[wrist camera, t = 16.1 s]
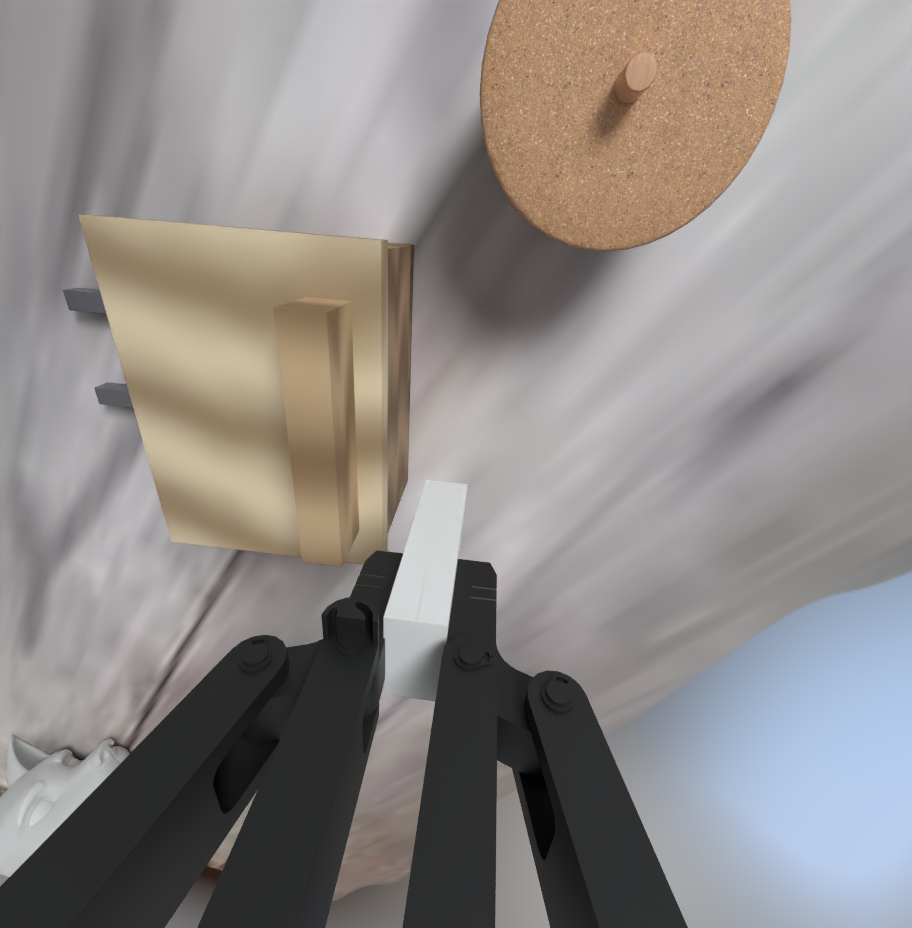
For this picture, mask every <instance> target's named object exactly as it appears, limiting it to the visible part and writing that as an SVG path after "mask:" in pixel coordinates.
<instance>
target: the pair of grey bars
mask: <svg viewBox="0 0 912 928" xmlns="http://www.w3.org/2000/svg"><path fill="white" fill-rule="evenodd" d="M63 292H64V295H65V298H66V301H67V305H68V308H69V310H75V311H85V312H96V313H106V310H105V306H104V303H103V299H102V296H101V292H100V290H96V289H85V288H74V289H67V290H63ZM106 314H107V313H106ZM95 391H96V395H97V398H98V401H99V404H104V405H114V406H123V407H132V408H133V405H132V401H131V398H130V394H129V391H128V387H127V385H126V384H116V383H105V384H103V385H100V386H98V387H95Z"/></svg>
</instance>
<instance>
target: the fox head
mask: <svg viewBox="0 0 912 928" xmlns="http://www.w3.org/2000/svg"><path fill="white" fill-rule="evenodd" d="M114 743H115V742H114V741H113V740H112V739H106V740H104V741H103V742H102V743H101V744H100V745H99V746H98V747H97V748H96V749H95V750H93V751H92V752H91V753H90V754H89V755H88V756H87V757H86V758H85V759H84V760H78V759H75V758H74V756H73V755H72V754H73V753H72V752H71V751H70V750H67V749H65V750H61V751H57V752H55V753H53V754H52V755H50V754H48V753H46V752H44V751H42V750H40V749H38V748H36V747H34V746H32V745H30V744H28V743H26V742H24V741H22V740H20V739H18V738H16V737H15V736H13V735H11V736H10V737H9V741H8V750H7V783H8V790H7V791H6V792H5V793H4V794H3V795H2V796H1V798H0V874H1V875H4V876H8V877H10V876H11V875H12V874H13V873H14V872H15V871H16V870H17V869H18V868H19V867H20V866H21V865H22V864H23V863H24V862H25V861H26V860H27V859H28V858H29V857H30V856H31V855H32V854H33V853H34V852H35V851H36V850H37V849H38V847H39V846H40V845H41V844H42V843H43V842H44V841H45V840H46V839H47V838H48V837H49V836H50V835H51V834H52V833H53V832H54V831H55V830H56V829H57V828H58V827H59V826H60V825H61V824H62V823H63V822H64V821H65V820H66V819H67V818H68V817H69V816H70V815H71V814H72V813H73V812H74V811H75V810H76V809H77V808H78V807H79V805H80V804H81V803H82V802H83V801H84V800H85V799H86V798H87V797H88V796H89V795H90V794H91V793H92V792H93V791H94V790H95V789H96V788H97V787H98V786H99V785H100V784H101V783H102V782H103V781H104V780H105V779H106V778H107V777H108V776H109V775H110V774H111V773H112V772H113V771H114V770H115V769H116V768H117V767H118V766H119V765H120V763H121V762H122V761H123V760H124V759H125V758H126V757H127V756H128V755H129V754H130V753H129V751H128V750H127V749H126V748H124V747H121V746H112V745H113V744H114Z"/></svg>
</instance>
